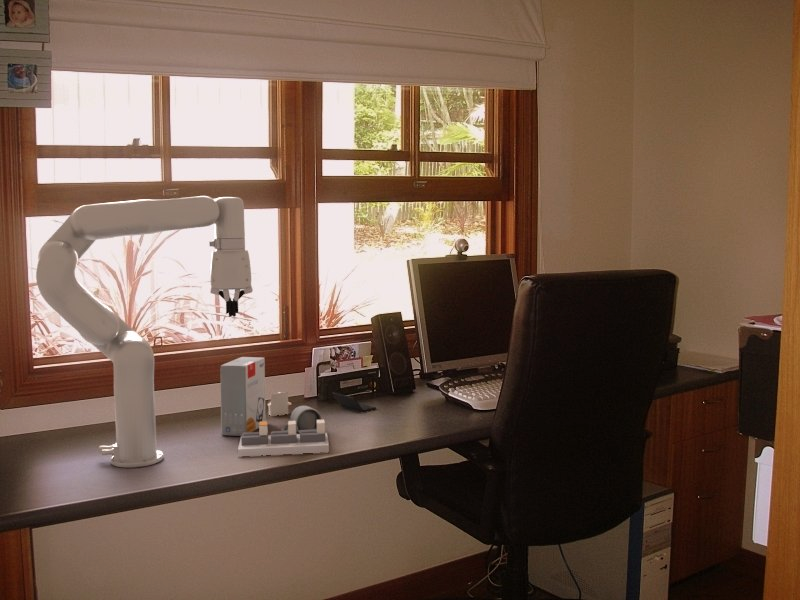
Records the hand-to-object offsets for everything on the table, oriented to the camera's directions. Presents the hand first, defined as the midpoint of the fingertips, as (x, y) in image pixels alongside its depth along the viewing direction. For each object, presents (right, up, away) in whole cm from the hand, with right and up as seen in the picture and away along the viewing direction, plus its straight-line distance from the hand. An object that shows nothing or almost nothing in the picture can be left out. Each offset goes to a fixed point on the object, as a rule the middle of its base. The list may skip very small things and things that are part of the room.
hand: (232, 315), depth 211 cm
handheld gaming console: (+29, -31, +45) cm, 62 cm away
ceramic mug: (+16, -34, +17) cm, 41 cm away
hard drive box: (-1, -33, +22) cm, 40 cm away
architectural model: (+6, -32, +38) cm, 50 cm away
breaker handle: (+8, -31, +1) cm, 32 cm away
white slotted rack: (+13, -35, +2) cm, 37 cm away
